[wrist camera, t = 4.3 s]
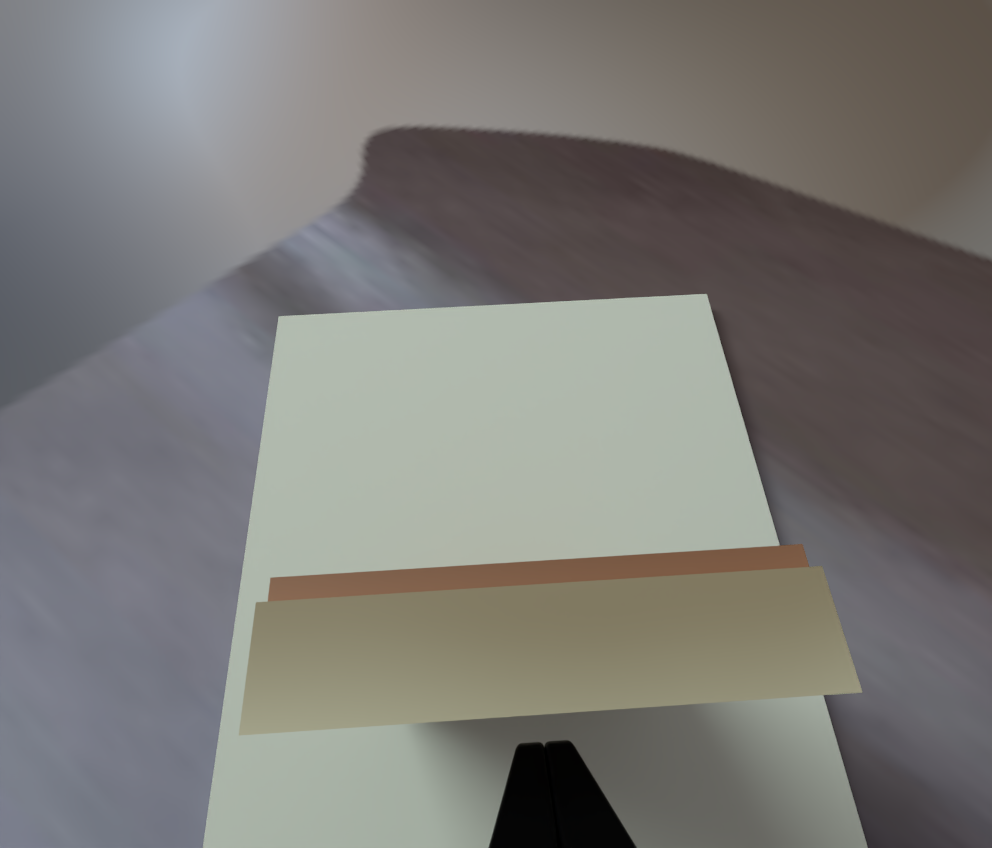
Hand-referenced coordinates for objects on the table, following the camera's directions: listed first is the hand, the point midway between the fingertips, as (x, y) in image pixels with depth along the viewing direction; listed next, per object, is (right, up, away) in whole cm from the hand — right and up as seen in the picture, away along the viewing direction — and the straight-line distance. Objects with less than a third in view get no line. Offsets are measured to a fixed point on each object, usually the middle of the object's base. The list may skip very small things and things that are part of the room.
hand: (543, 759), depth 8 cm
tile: (0, -1, +6) cm, 6 cm away
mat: (0, +1, +8) cm, 8 cm away
